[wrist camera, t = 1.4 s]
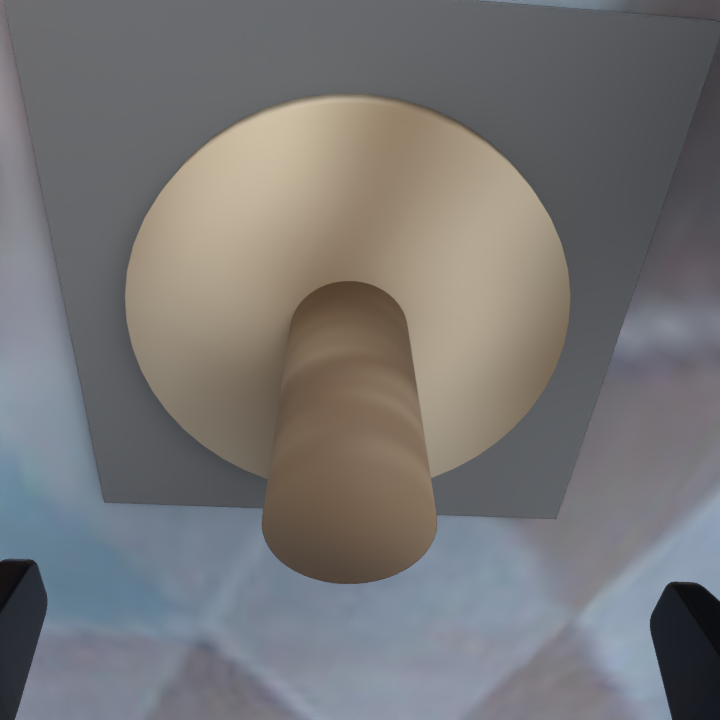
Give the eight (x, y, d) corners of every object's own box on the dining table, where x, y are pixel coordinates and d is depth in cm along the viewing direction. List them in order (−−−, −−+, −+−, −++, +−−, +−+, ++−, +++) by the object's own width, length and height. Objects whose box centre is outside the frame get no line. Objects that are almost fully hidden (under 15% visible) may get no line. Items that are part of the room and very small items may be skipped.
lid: (610, 110, 14) (808, 243, 8) (511, 474, 19) (583, 709, 13) (107, 75, 13) (-86, 188, 7) (159, 460, 19) (73, 698, 13)
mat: (711, 20, 13) (725, 23, 13) (550, 505, 21) (556, 519, 20) (10, -39, 12) (-4, -38, 12) (110, 488, 20) (104, 502, 20)
